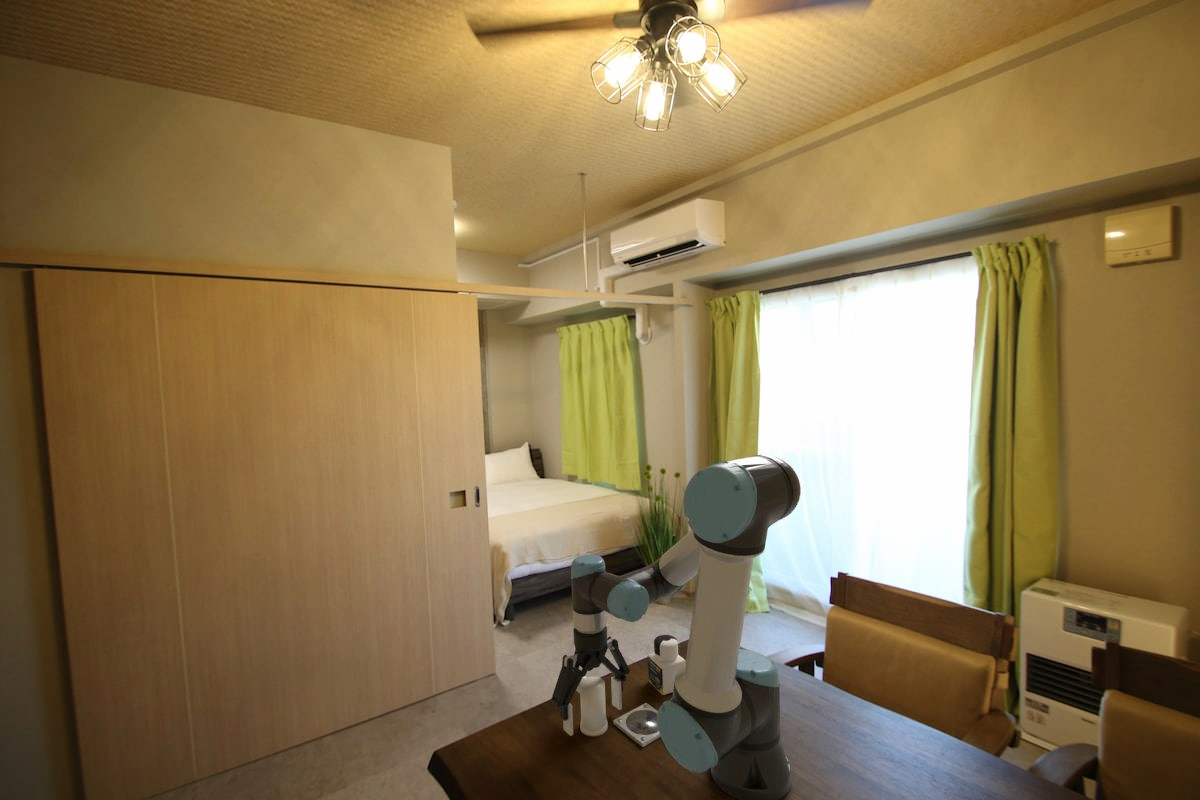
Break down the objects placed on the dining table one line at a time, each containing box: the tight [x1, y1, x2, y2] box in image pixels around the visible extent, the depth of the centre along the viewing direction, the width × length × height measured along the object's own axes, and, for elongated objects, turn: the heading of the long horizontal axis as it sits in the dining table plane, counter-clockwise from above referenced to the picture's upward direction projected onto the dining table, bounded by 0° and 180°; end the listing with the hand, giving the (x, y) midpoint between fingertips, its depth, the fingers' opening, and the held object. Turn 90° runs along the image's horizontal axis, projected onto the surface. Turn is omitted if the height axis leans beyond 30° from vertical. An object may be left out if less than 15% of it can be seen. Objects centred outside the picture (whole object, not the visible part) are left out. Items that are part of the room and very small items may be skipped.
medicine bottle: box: [647, 634, 686, 696], centre depth 133 cm, size 7×7×12 cm
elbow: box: [575, 675, 609, 737], centre depth 119 cm, size 9×6×10 cm, turn 37°
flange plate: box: [612, 702, 661, 748], centre depth 118 cm, size 10×10×1 cm
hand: (593, 719), depth 118 cm, fingers open, 13 cm apart
